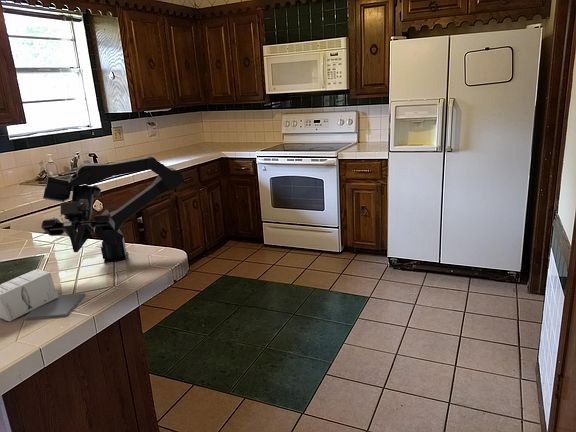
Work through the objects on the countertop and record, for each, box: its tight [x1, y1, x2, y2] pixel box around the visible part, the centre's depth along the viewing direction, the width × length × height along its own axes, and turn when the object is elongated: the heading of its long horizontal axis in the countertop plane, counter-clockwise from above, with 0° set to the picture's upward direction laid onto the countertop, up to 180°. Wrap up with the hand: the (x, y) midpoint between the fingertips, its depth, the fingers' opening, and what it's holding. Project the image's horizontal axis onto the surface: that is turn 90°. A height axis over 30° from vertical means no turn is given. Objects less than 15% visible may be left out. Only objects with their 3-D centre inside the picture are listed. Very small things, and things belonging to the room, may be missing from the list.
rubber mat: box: [24, 292, 86, 321], centre depth 110 cm, size 11×10×1 cm
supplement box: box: [0, 268, 59, 322], centre depth 110 cm, size 7×7×13 cm
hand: (75, 251), depth 124 cm, fingers closed
